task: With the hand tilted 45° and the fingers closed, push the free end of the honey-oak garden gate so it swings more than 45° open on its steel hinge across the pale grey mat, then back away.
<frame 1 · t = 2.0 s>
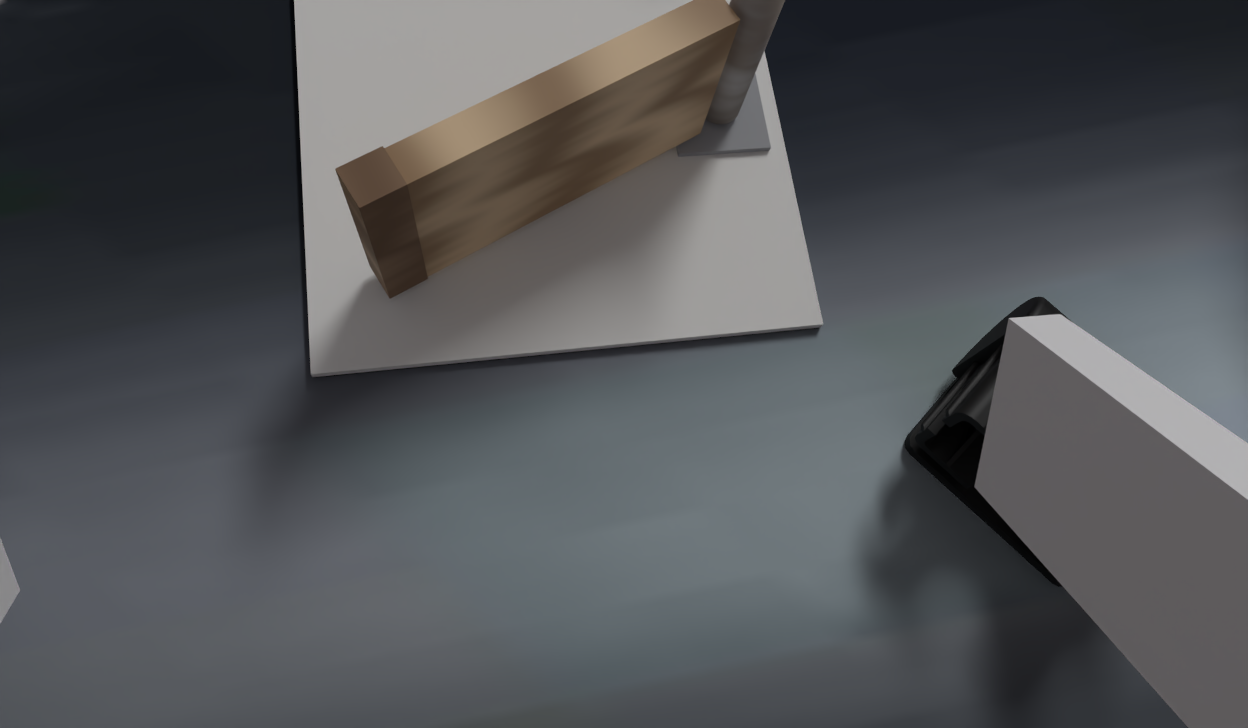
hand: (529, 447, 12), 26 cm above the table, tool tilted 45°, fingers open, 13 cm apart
gate: (574, 130, 37), point 5 cm above the table, hinge at 0.0°
end cap: (1021, 461, 41), on the table
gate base: (547, 127, 43), on the table
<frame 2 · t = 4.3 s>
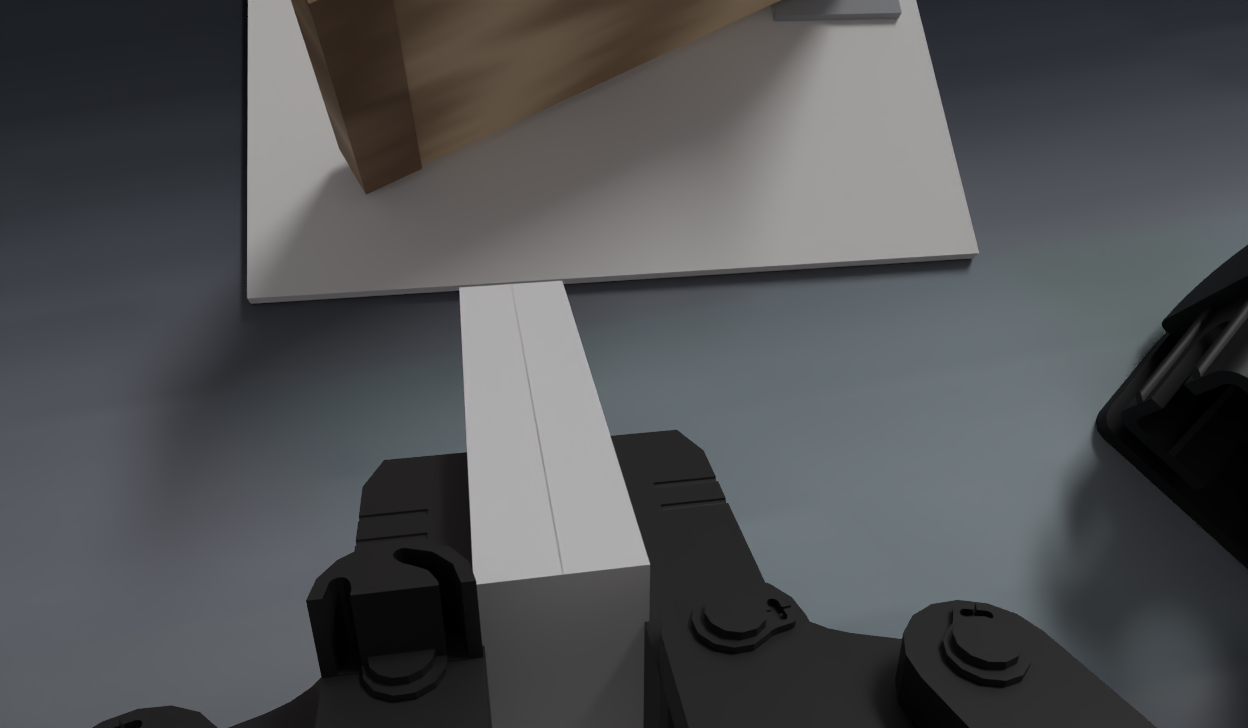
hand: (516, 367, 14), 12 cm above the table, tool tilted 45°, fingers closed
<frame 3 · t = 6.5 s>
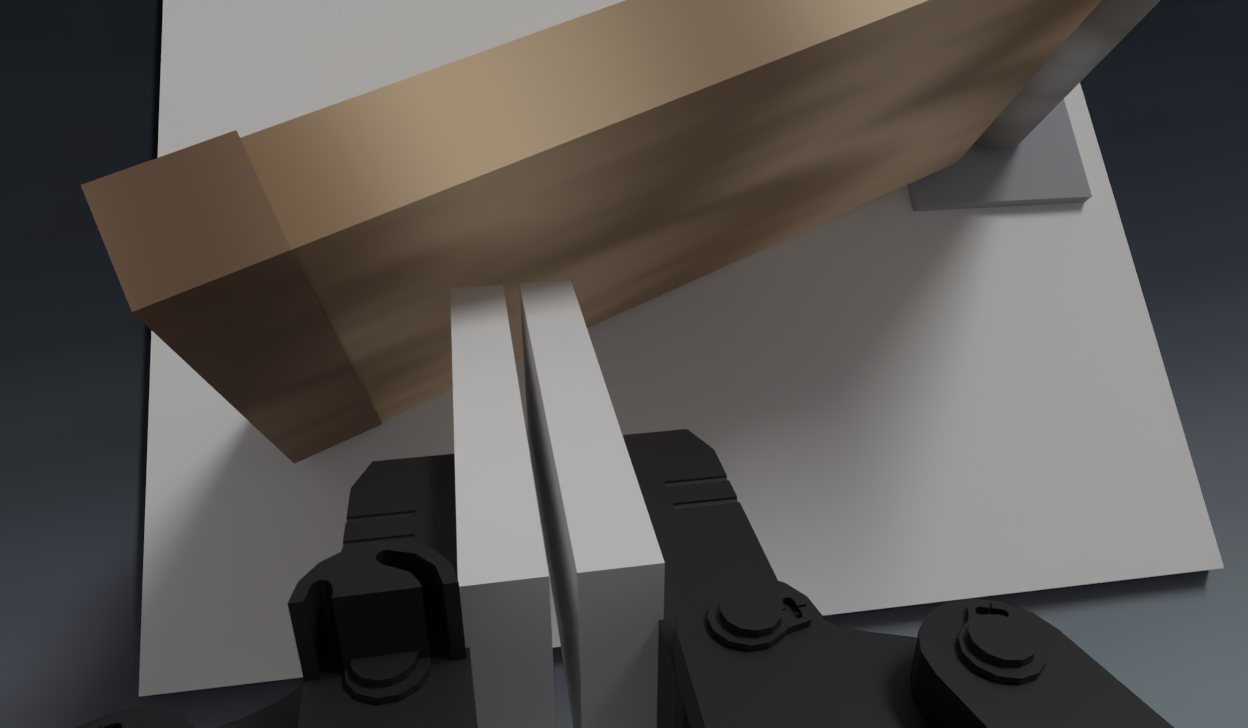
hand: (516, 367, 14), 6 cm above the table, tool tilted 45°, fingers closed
gate: (737, 136, 16), point 5 cm above the table, hinge at -4.2°, touching gripper
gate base: (656, 147, 22), on the table
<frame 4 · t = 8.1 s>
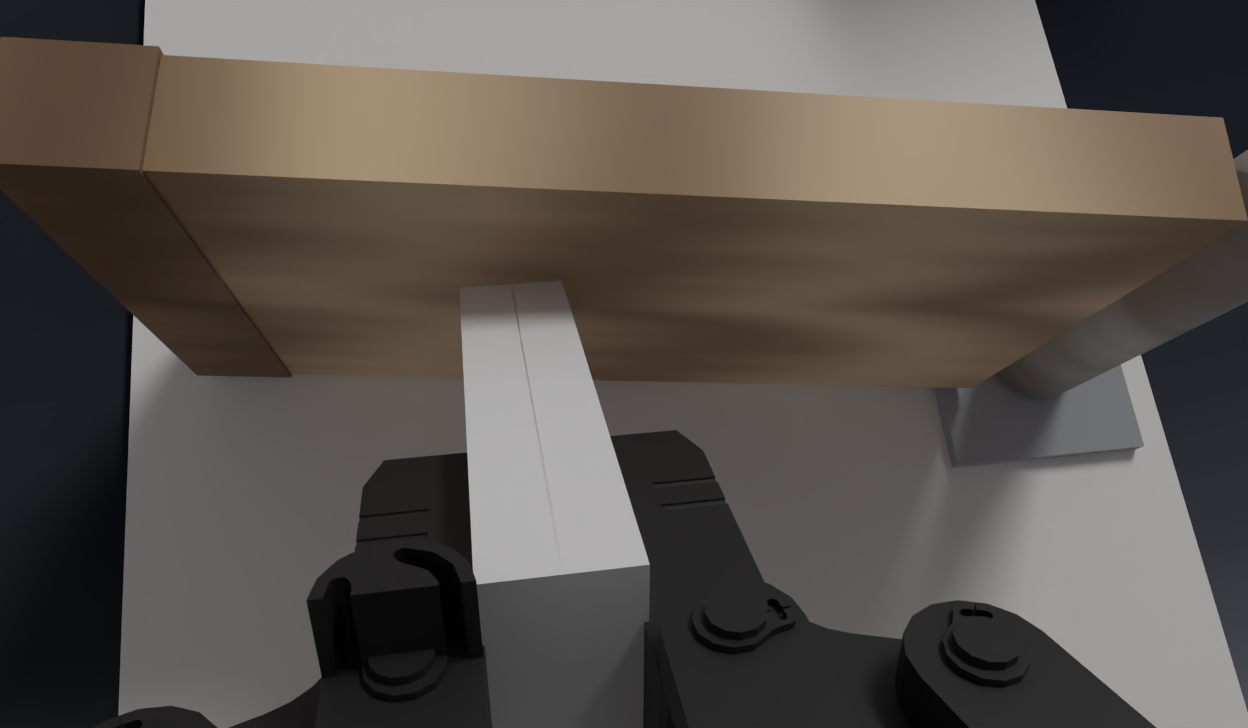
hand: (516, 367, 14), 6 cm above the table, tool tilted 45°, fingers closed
gate: (704, 259, 16), point 5 cm above the table, hinge at -31.1°, touching gripper
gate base: (672, 397, 20), on the table
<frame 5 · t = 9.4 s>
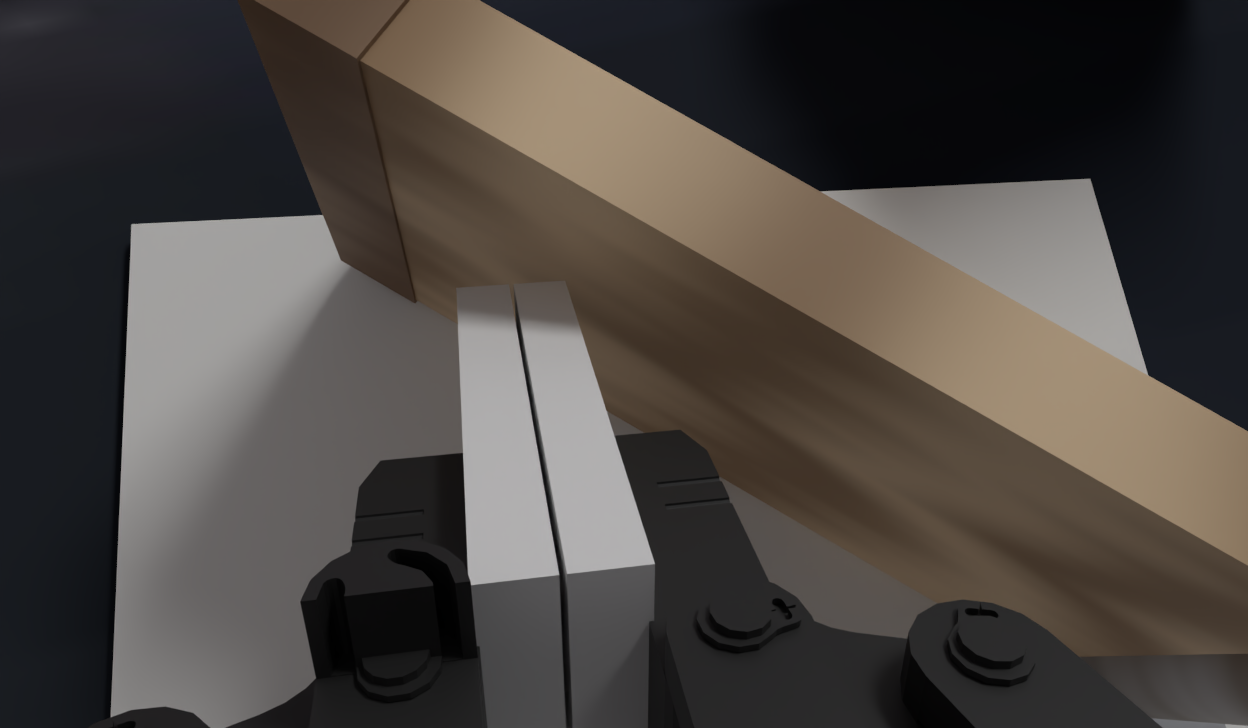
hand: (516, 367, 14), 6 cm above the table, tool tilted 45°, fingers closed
gate: (821, 392, 15), point 5 cm above the table, hinge at -61.2°, touching gripper
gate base: (715, 712, 18), on the table
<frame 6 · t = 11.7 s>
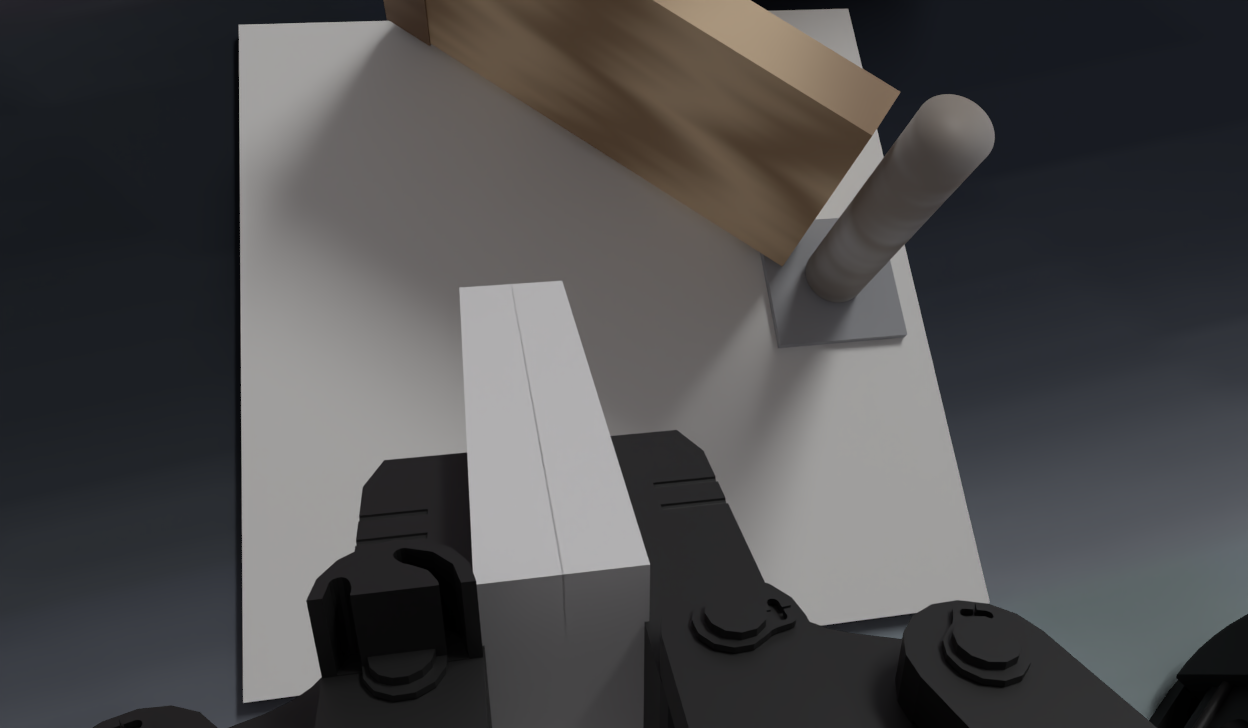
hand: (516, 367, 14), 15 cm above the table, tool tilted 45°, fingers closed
gate: (644, 64, 28), point 5 cm above the table, hinge at -65.1°
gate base: (593, 303, 31), on the table
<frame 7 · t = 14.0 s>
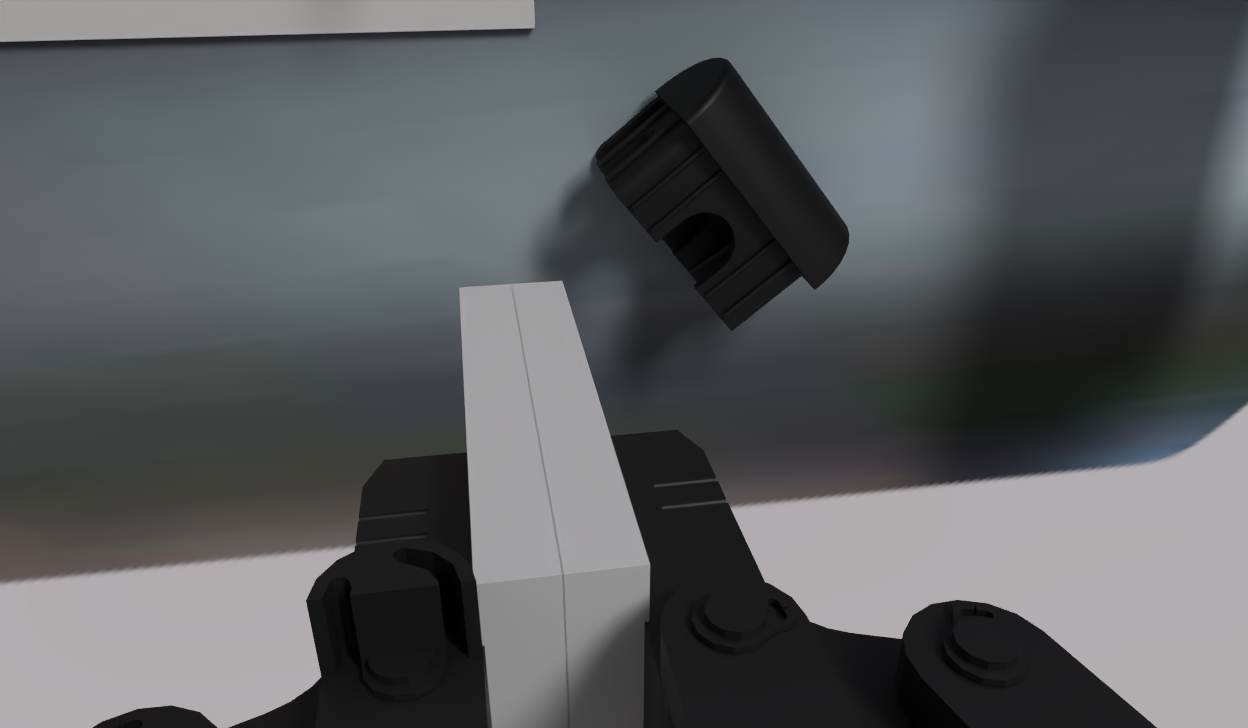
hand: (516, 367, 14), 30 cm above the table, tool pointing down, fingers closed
end cap: (704, 173, 45), on the table
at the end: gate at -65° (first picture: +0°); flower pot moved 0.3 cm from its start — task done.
